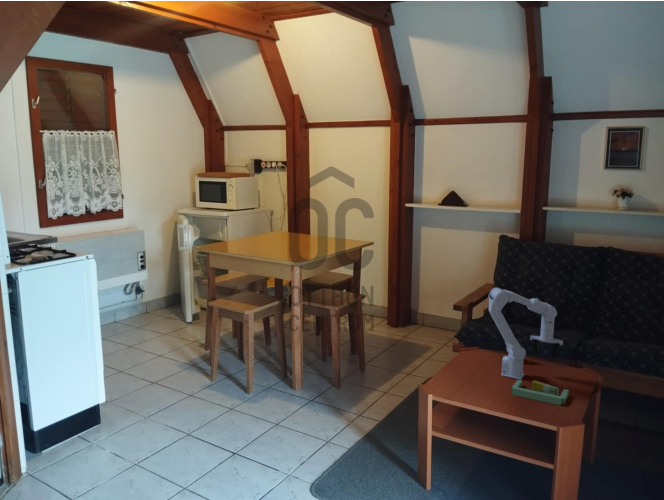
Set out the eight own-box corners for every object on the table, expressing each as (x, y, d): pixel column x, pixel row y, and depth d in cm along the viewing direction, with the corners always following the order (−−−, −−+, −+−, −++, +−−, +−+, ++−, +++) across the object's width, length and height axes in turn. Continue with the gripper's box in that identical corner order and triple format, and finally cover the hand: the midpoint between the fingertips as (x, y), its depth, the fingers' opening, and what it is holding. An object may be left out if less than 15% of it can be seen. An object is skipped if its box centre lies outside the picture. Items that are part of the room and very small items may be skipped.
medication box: (559, 396, 242) (559, 387, 242) (555, 398, 241) (556, 389, 240) (534, 388, 252) (534, 379, 251) (530, 389, 250) (531, 381, 249)
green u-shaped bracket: (510, 394, 243) (510, 387, 243) (517, 384, 255) (517, 378, 254) (563, 406, 232) (563, 399, 232) (568, 395, 243) (568, 388, 243)
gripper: (564, 329, 263) (562, 357, 265) (533, 325, 271) (531, 351, 272) (562, 333, 257) (560, 361, 259) (530, 328, 265) (528, 355, 267)
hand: (545, 356), depth 265 cm, fingers open, 7 cm apart
